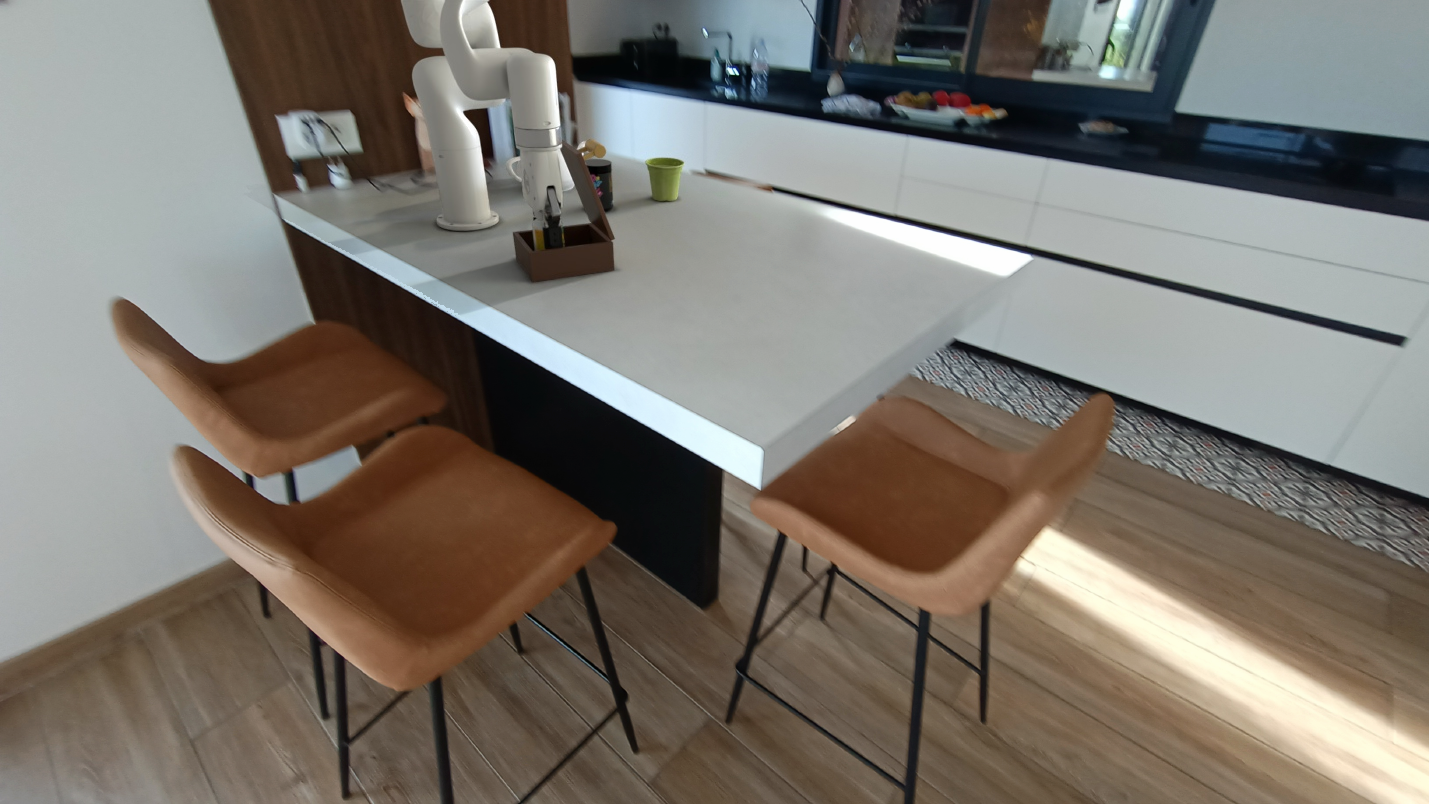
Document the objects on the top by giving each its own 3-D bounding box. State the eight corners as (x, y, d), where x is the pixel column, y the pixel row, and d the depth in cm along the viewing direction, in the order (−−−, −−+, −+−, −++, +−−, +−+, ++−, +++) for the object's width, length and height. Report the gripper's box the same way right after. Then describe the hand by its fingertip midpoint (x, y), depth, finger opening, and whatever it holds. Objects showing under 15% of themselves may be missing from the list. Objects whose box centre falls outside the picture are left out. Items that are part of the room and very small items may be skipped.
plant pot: (691, 197, 163) (692, 161, 159) (669, 206, 157) (669, 168, 152) (661, 191, 167) (660, 155, 163) (638, 199, 161) (637, 162, 156)
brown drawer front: (577, 154, 108) (608, 140, 109) (556, 139, 117) (585, 127, 118) (611, 240, 118) (639, 227, 119) (589, 221, 127) (615, 208, 128)
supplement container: (582, 205, 154) (578, 159, 149) (610, 204, 156) (608, 158, 151) (587, 214, 149) (584, 166, 143) (616, 212, 151) (614, 165, 145)
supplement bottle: (531, 258, 122) (525, 206, 116) (559, 254, 124) (554, 202, 119) (542, 268, 118) (536, 214, 113) (570, 263, 120) (566, 210, 115)
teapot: (530, 203, 154) (523, 148, 148) (492, 190, 163) (484, 137, 156) (610, 185, 170) (608, 135, 164) (572, 173, 179) (568, 125, 172)
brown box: (532, 282, 115) (529, 253, 112) (516, 259, 124) (512, 231, 121) (614, 270, 121) (613, 242, 118) (593, 249, 130) (591, 222, 127)
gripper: (503, 129, 114) (516, 231, 124) (528, 149, 102) (541, 262, 111) (546, 127, 117) (556, 227, 127) (576, 146, 105) (584, 256, 114)
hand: (549, 242), depth 119 cm, fingers closed on supplement bottle, 5 cm apart
